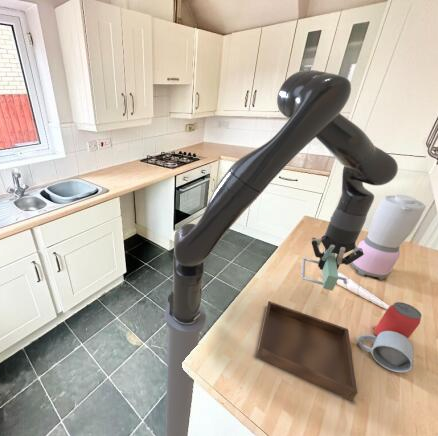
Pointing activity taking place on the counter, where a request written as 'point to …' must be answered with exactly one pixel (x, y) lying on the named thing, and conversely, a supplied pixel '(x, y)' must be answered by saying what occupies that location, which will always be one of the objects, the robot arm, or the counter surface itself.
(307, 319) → the tray
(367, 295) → the unicorn horn
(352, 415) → the counter surface
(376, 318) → the counter surface
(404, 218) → the blender
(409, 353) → the ceramic mug
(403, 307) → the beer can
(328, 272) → the hanger
